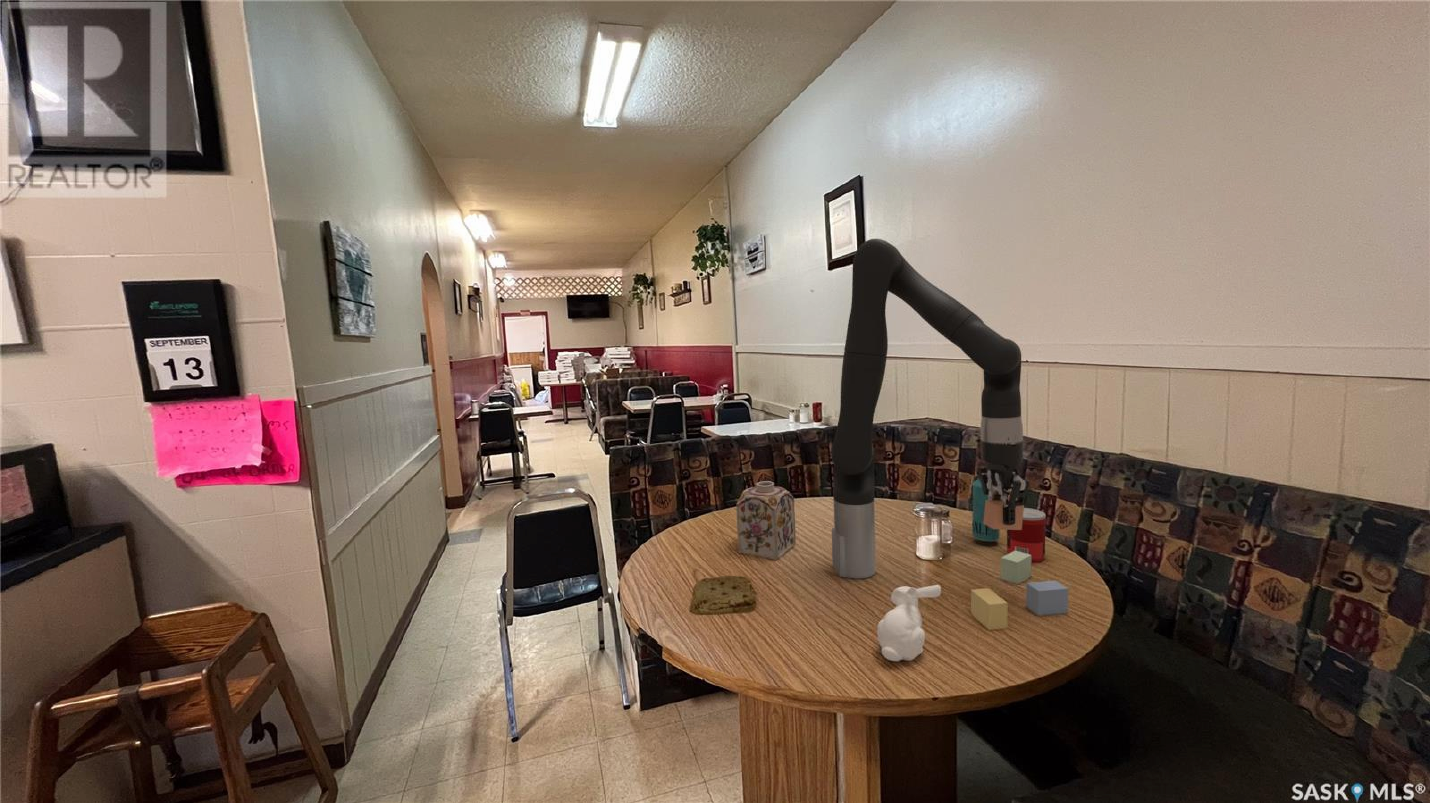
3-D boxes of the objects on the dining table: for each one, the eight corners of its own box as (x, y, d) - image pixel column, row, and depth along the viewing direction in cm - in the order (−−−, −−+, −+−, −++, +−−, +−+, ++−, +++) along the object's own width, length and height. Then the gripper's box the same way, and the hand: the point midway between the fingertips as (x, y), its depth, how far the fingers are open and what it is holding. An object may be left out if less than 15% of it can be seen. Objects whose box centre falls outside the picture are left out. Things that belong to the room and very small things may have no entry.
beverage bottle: (997, 538, 141) (998, 464, 139) (1002, 548, 135) (1002, 470, 133) (970, 537, 143) (970, 463, 141) (973, 546, 137) (973, 469, 135)
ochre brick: (1007, 628, 99) (1007, 602, 99) (989, 630, 99) (989, 604, 98) (988, 612, 105) (988, 588, 105) (971, 613, 105) (971, 589, 104)
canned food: (1052, 562, 126) (1052, 516, 124) (1017, 563, 126) (1017, 518, 125) (1033, 549, 133) (1034, 506, 132) (1000, 551, 133) (1001, 508, 132)
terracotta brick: (993, 529, 108) (995, 504, 108) (983, 523, 112) (985, 500, 111) (1021, 529, 109) (1024, 505, 108) (1010, 524, 112) (1013, 500, 112)
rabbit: (892, 628, 101) (892, 567, 100) (945, 643, 95) (945, 579, 94) (867, 660, 92) (866, 593, 90) (924, 679, 86) (923, 608, 84)
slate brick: (1038, 615, 103) (1038, 590, 102) (1026, 606, 106) (1026, 582, 106) (1067, 613, 103) (1068, 588, 103) (1054, 604, 107) (1055, 580, 106)
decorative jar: (797, 545, 144) (794, 479, 142) (778, 561, 134) (775, 491, 132) (757, 538, 150) (754, 475, 148) (736, 553, 141) (733, 486, 139)
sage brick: (1017, 584, 116) (1017, 562, 115) (1001, 579, 119) (1001, 557, 118) (1031, 576, 119) (1031, 554, 119) (1015, 571, 122) (1015, 550, 122)
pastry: (723, 575, 129) (722, 563, 128) (779, 597, 116) (779, 584, 116) (667, 602, 117) (666, 589, 116) (723, 630, 104) (722, 615, 104)
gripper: (964, 434, 115) (966, 512, 117) (1005, 446, 101) (1007, 534, 103) (997, 431, 115) (999, 509, 117) (1043, 442, 101) (1044, 530, 103)
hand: (1002, 520), depth 110 cm, fingers closed on terracotta brick, 3 cm apart
